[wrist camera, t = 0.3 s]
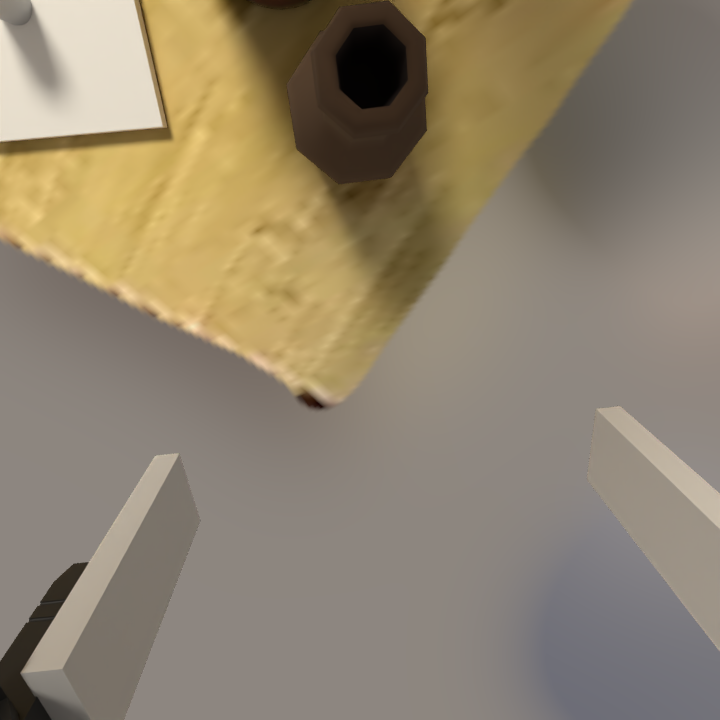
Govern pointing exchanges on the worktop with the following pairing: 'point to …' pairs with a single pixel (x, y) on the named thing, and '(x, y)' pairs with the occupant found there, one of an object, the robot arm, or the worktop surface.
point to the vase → (279, 3)
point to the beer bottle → (361, 93)
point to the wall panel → (75, 69)
